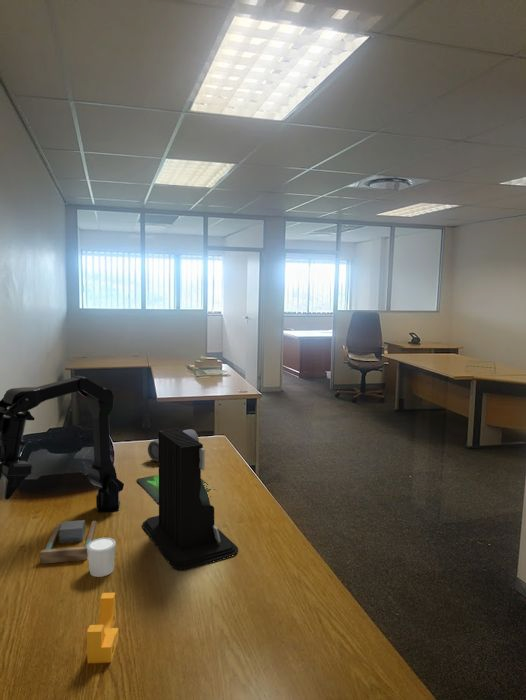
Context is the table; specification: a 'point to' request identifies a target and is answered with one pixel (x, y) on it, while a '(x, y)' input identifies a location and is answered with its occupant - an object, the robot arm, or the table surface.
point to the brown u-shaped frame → (65, 553)
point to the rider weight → (72, 531)
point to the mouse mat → (155, 486)
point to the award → (185, 506)
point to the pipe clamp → (103, 632)
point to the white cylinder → (101, 556)
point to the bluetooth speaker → (154, 445)
